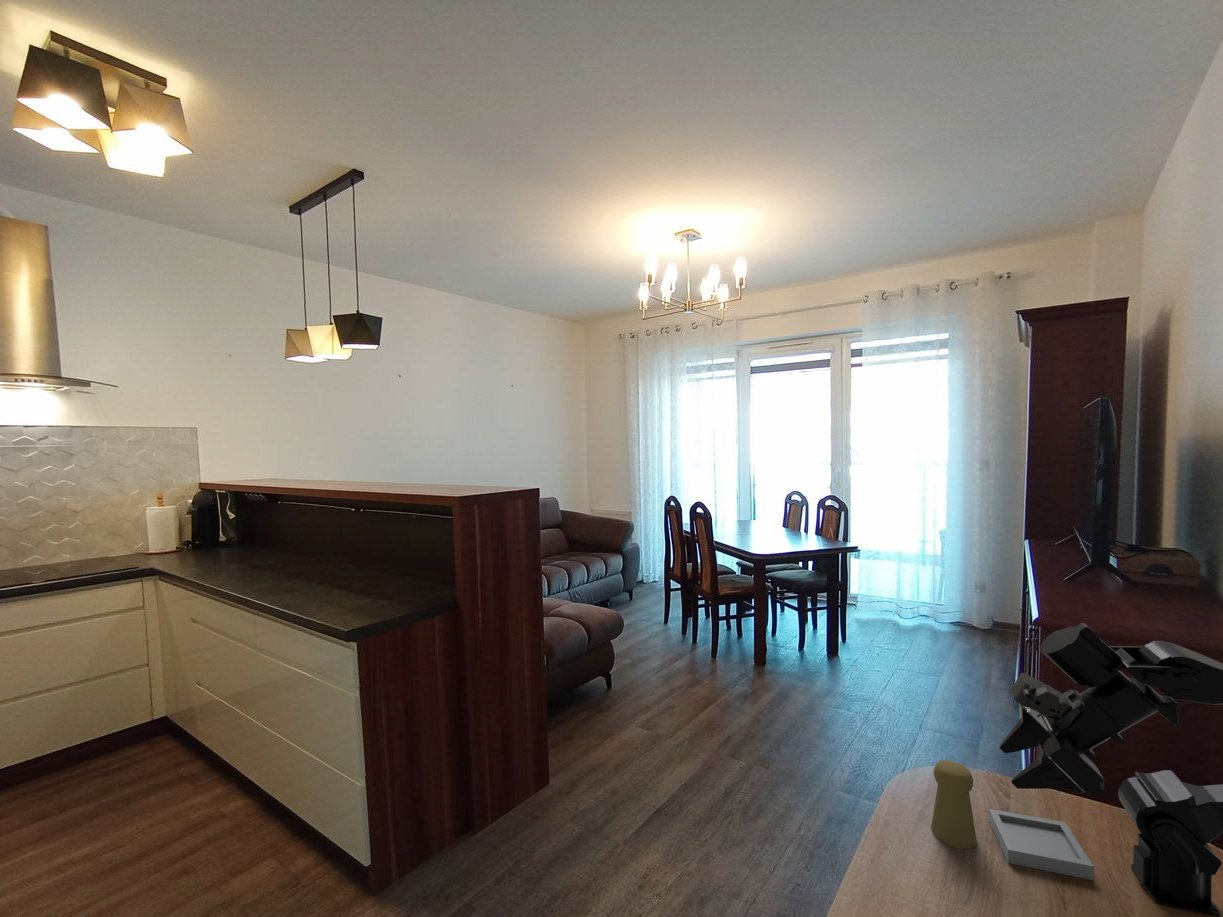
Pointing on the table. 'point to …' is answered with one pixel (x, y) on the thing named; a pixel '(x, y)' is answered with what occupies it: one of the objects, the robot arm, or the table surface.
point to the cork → (953, 805)
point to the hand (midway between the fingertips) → (1007, 766)
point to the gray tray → (1040, 844)
